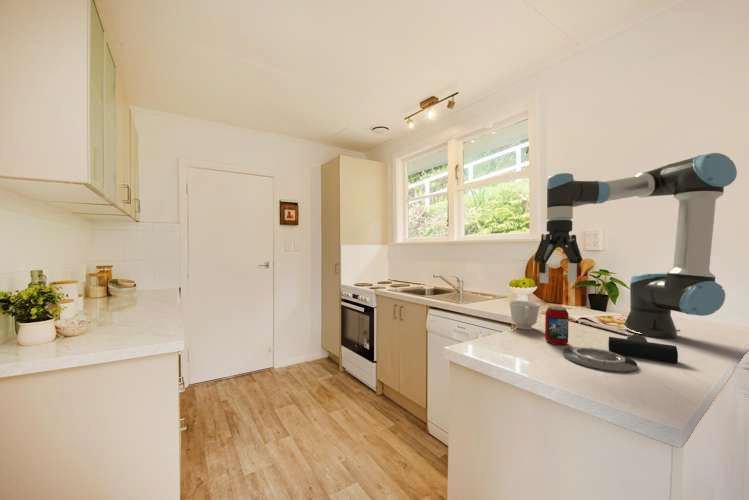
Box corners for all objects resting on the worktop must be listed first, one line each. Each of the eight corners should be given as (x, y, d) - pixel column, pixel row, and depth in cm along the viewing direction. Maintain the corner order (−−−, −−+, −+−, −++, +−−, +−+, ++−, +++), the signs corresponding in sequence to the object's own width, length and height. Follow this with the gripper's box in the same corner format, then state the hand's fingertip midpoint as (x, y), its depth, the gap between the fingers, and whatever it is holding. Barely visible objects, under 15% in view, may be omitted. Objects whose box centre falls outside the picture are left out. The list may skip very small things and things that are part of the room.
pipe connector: (606, 329, 102) (667, 337, 93) (606, 345, 102) (667, 354, 93) (610, 338, 92) (678, 348, 84) (609, 355, 92) (677, 366, 84)
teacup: (510, 331, 116) (510, 305, 116) (506, 323, 130) (506, 299, 130) (545, 335, 112) (545, 308, 112) (537, 325, 126) (537, 301, 126)
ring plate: (587, 348, 98) (587, 342, 98) (651, 367, 82) (651, 361, 82) (549, 354, 91) (550, 348, 91) (611, 376, 76) (611, 369, 76)
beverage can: (552, 345, 99) (553, 309, 99) (540, 339, 106) (541, 305, 106) (572, 346, 100) (573, 309, 100) (559, 339, 106) (560, 305, 106)
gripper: (573, 222, 111) (572, 280, 111) (522, 219, 101) (521, 282, 101) (594, 221, 104) (593, 282, 104) (542, 217, 94) (541, 284, 94)
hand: (558, 282), depth 103 cm, fingers open, 13 cm apart
